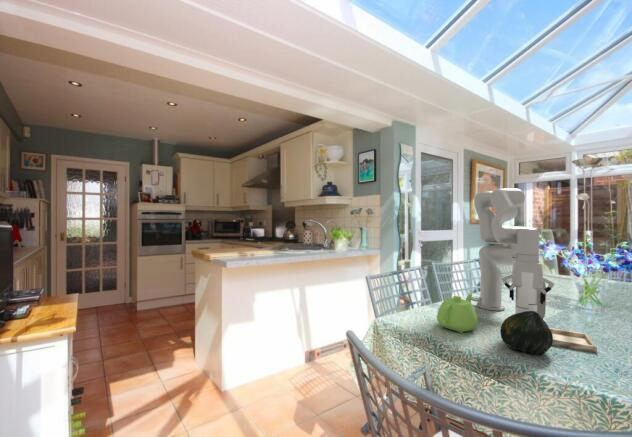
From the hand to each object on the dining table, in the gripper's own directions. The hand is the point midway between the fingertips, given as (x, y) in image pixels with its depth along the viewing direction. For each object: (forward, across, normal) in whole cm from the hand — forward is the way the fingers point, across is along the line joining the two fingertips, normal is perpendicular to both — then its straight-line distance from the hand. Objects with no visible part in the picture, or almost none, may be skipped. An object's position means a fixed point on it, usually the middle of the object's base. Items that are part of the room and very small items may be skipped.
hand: (526, 301), depth 123 cm
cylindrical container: (+13, 0, +1) cm, 13 cm away
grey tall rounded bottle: (+13, +3, +19) cm, 23 cm away
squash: (+14, -1, -17) cm, 22 cm away
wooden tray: (+13, +13, 0) cm, 18 cm away
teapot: (+13, -24, -6) cm, 28 cm away
